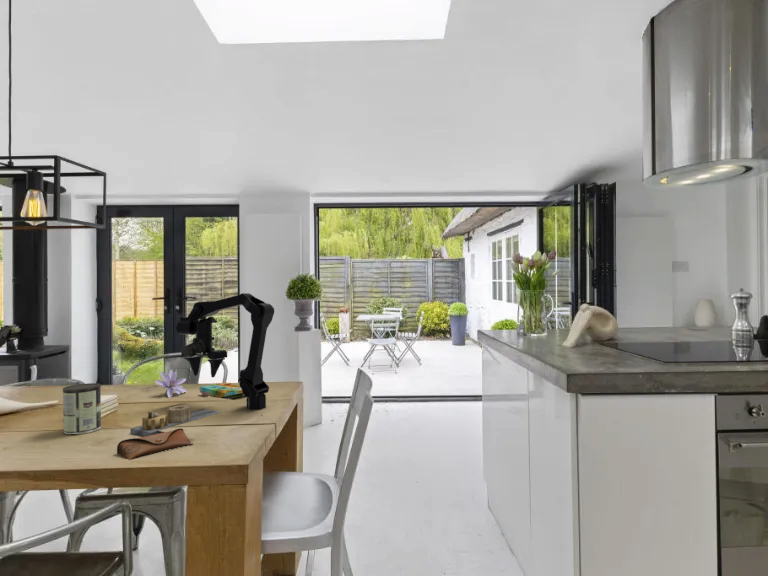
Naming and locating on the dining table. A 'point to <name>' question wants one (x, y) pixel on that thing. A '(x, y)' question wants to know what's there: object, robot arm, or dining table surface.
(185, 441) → the sunglasses case
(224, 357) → the robot arm
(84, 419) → the coffee can
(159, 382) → the water lily
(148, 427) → the gear board
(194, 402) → the dining table surface
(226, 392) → the puzzle game
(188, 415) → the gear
